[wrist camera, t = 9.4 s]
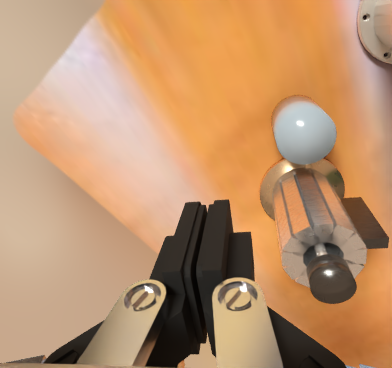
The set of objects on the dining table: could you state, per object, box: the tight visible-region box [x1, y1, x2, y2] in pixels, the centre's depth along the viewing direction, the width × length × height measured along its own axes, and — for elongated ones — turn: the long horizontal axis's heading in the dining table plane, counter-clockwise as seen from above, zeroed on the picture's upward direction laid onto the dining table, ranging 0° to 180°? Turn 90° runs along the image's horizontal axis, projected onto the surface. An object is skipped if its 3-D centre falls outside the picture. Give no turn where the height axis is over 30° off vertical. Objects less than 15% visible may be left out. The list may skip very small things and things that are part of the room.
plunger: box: [306, 243, 357, 304], centre depth 40 cm, size 4×4×19 cm
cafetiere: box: [260, 158, 389, 288], centre depth 43 cm, size 14×13×17 cm
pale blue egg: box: [271, 95, 336, 165], centre depth 42 cm, size 7×7×9 cm
